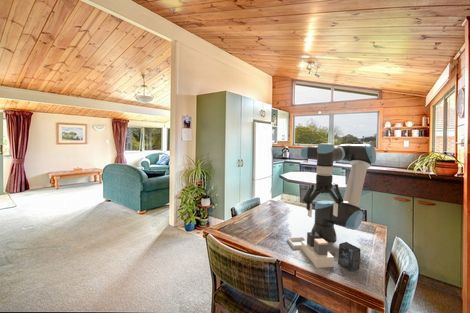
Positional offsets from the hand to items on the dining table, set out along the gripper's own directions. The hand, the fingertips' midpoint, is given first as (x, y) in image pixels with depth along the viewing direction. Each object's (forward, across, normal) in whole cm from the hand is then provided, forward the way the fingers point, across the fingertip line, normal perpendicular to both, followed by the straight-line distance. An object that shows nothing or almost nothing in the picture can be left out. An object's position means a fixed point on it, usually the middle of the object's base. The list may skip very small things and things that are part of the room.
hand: (322, 216), depth 110 cm
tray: (+24, +4, -18) cm, 30 cm away
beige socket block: (+24, -3, -4) cm, 25 cm away
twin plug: (+24, 0, -8) cm, 25 cm away
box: (+24, -12, +5) cm, 28 cm away
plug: (+23, 0, 0) cm, 23 cm away
